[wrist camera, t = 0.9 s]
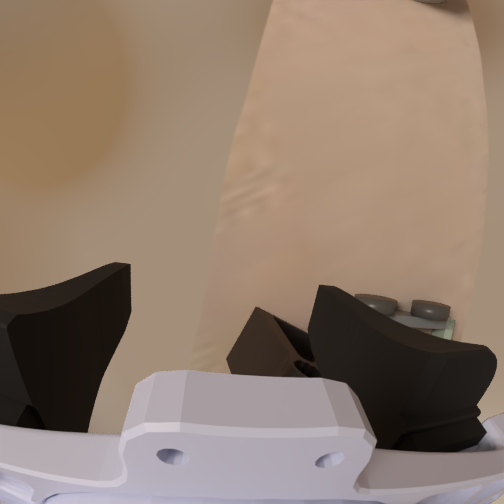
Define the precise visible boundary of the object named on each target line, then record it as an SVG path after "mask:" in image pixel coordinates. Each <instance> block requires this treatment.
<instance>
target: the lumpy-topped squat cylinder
mask: <svg viewBox="0 0 504 504" xmlns="http://www.w3.org/2000/svg"><path fill="white" fill-rule="evenodd" d="M414 1H417V2H422V3H434V4H435V3H441V2H443V1H445V0H414Z"/></svg>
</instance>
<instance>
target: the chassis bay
mask: <svg viewBox="0 0 504 504" xmlns="http://www.w3.org/2000/svg"><path fill="white" fill-rule="evenodd" d="M355 298H357V299H358V300H360V301H361V302H363V303H365V304H366V305H368V306H370V307H371V308H373V309H375V310H376V311H378V312H380V313H382V314H384V315H385V316H387V317H389V318H391V319H393V320H395V321H397V322H399V323H402V324H404V325H406V326H408V327H414V328H429V329H433V331H432V335H433V336H437V337H440V338H444V339H449V340H451V337H452V333H453V328H454V324H455V320H454V319H452V318H450V317H449V313H450V308H451V307H450V306H448V305H445V304H441V303H437V302H431V301H424V300H413V301H412V306H411V312H404V311H396V307H397V302H398V301H396V300H394V299H391V298H387V297H383V296H377V295H370V294H355Z"/></svg>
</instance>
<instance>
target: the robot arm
mask: <svg viewBox="0 0 504 504" xmlns="http://www.w3.org/2000/svg"><path fill="white" fill-rule="evenodd" d="M130 270H131V267H130V264H126V263H117V262H114V263H110V264H108V265H105V266H102V267H100V268H97V269H95V270H92V271H90V272H88V273H85V274H83V275H80V276H78V277H75V278H73V279H70V280H67V281H64V282H62V283H59V284H55V285H52V286H48V287H45V288H41V289H36V290H31V291H25V292H20V293H11V294H0V504H490V503H492V502H493V501H495V500H496V499H497V498H499V497H500V496H501V495H502V494H503V493H504V413H501V414H499V415H496V416H493V417H490V418H488V419H486V420H485V421H484V422H482V423H480V421H479V420H478V419H477V417H478V416H479V415H480V414H481V411H480V409H479V408H478V407H477V404H478V402H479V401H480V399H481V398H482V396H483V395H484V393H485V391H486V390H487V388H488V387H489V385H490V383H491V381H492V379H493V377H494V374H495V371H496V368H497V359H496V356H495V355H494V353H493V352H492V351H491V350H490V349H489V348H488V347H486V346H484V345H478V344H470V343H463V342H457V341H453V340H449V339H444V338H440V337H437V336H433V335H430V334H427V333H424V332H421V331H418V330H416V329H413V328H411V327H408V326H406V325H404V324H402V323H399V322H397V321H395V320H393V319H391V318H389V317H387V316H385V315H384V314H382V313H380V312H378V311H376V310H375V309H373V308H371V307H370V306H368V305H366V304H365V303H363V302H361V301H360V300H358V299H357V298H355V297H353V296H352V295H350V294H348V293H347V292H345V291H343V290H341V289H340V288H337V287H335V286H327V285H319V287H318V291H317V295H316V299H315V303H314V307H313V311H312V315H311V318H310V322H309V326H308V335H309V340H310V345H311V350H312V353H313V355H314V358H315V361H316V364H317V367H318V369H319V372H320V375H321V377H322V378H294V377H267V376H249V375H235V374H223V373H212V372H202V371H193V370H179V371H163V372H156V373H154V374H152V375H151V376H149V377H147V378H146V379H144V380H142V381H141V382H139V383H137V384H136V387H135V390H134V393H133V396H132V400H131V403H130V406H129V410H128V413H127V416H126V420H125V423H124V427H123V430H122V433H88V428H89V423H90V419H91V415H92V411H93V407H94V404H95V400H96V397H97V393H98V390H99V387H100V384H101V381H102V378H103V376H104V373H105V371H106V369H107V367H108V365H109V363H110V360H111V358H112V356H113V354H114V352H115V350H116V348H117V346H118V344H119V342H120V340H121V338H122V336H123V334H124V332H125V329H126V327H127V324H128V320H129V317H130V314H131V272H130Z"/></svg>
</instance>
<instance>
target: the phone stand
mask: <svg viewBox="0 0 504 504" xmlns="http://www.w3.org/2000/svg"><path fill="white" fill-rule="evenodd" d="M226 360H227V363H228V366H229V368H230V371H231V374H235V375H249V376H267V377H294V378H322V377H321V375H320V372H319V369H318V367H317V364H316V361H315V358H314V355H313V353H312V350H311V345H310V340H309V335H308V333H306V332H304V331H302V330H300V329H298V328H296V327H295V326H293V325H291V324H289V323H287V322H285V321H283V320H281V319H279V318H277V317H275V316H274V315H272V314H270V313H268V312H266V311H264V310H262V309H260V308H258V307H255V309H254V311H253V313H252V314H251V316H250V318H249V320H248V322H247V323H246V325H245V327H244V329H243V330H242V332H241V334H240V336H239V337H238V339H237V341H236V343H235V344H234V346H233V348H232V350H231V351H230V353H229V355H228V357H227V358H226Z"/></svg>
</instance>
